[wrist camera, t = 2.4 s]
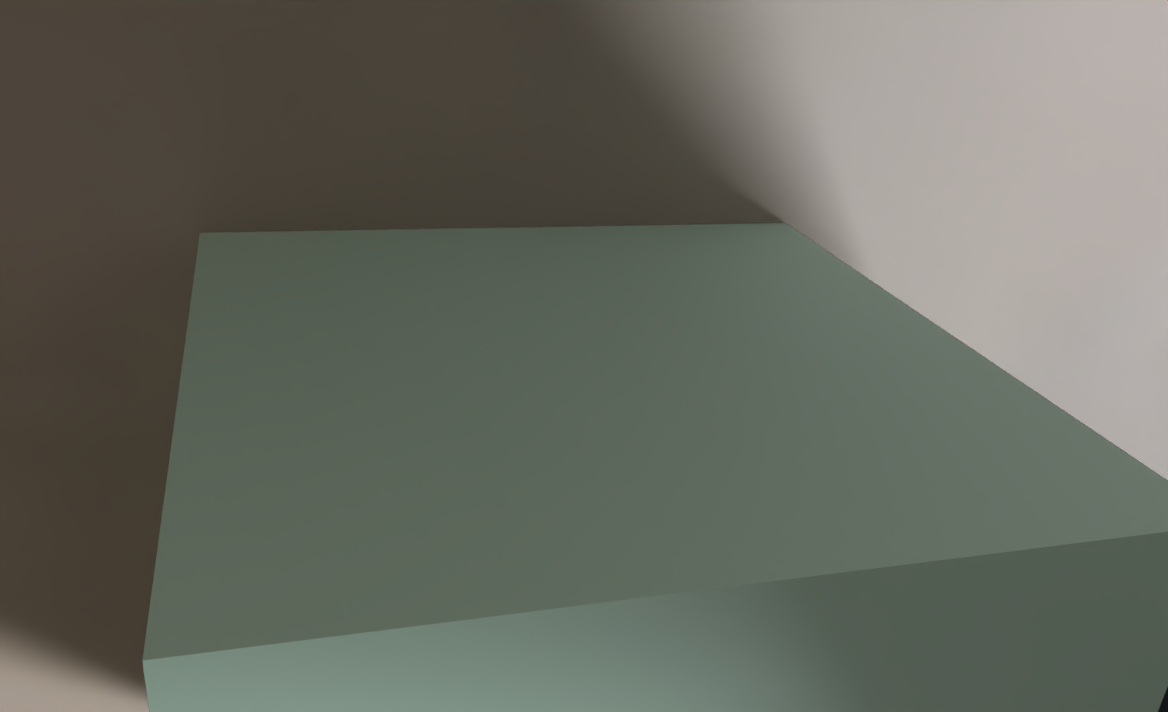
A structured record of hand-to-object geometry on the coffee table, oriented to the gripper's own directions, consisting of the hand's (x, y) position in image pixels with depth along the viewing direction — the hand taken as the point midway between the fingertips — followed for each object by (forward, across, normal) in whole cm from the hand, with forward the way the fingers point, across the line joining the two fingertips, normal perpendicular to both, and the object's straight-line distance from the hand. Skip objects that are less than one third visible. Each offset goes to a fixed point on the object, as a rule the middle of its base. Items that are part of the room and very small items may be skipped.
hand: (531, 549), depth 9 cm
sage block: (+1, 0, 0) cm, 1 cm away
